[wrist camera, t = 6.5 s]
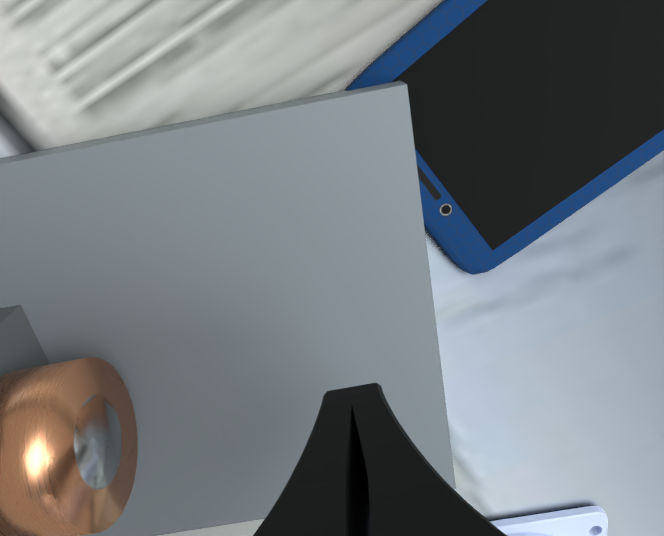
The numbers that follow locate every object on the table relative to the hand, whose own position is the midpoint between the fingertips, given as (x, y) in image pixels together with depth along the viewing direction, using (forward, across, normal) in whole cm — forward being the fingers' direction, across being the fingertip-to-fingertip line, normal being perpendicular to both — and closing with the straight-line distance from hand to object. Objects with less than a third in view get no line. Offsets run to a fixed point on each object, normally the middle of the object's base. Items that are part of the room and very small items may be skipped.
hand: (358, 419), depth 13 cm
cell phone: (+6, -8, -7) cm, 12 cm away
